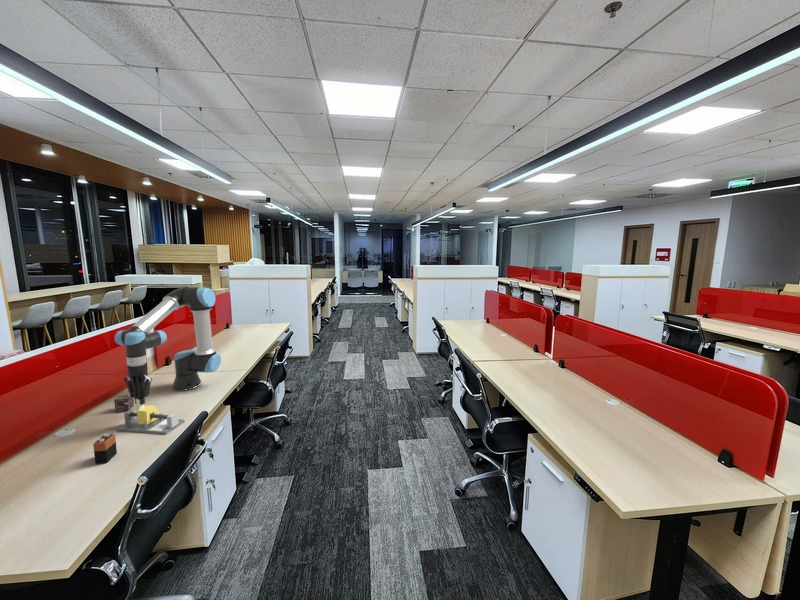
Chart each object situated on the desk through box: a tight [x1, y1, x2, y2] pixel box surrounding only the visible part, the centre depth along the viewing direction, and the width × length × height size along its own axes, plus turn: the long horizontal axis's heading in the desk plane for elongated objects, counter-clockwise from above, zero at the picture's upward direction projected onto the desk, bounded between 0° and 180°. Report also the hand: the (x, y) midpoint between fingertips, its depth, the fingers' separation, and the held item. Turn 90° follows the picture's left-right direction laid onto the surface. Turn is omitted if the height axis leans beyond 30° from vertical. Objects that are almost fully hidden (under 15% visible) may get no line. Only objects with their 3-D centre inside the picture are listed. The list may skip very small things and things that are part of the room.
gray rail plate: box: [116, 409, 185, 436], centre depth 161 cm, size 12×25×7 cm, turn 85°
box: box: [114, 394, 135, 413], centre depth 177 cm, size 6×6×7 cm
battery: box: [92, 432, 118, 465], centre depth 135 cm, size 4×7×10 cm, turn 13°
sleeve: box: [136, 404, 158, 425], centre depth 161 cm, size 6×5×7 cm
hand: (140, 410), depth 161 cm, fingers closed
